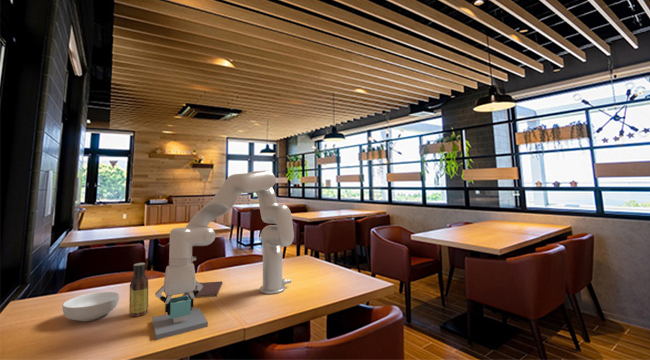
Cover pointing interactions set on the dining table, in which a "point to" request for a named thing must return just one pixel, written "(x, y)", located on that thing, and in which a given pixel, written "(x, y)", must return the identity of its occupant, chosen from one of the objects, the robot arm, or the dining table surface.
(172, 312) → the teal upright block
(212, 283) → the notebook
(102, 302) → the cereal bowl
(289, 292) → the dining table surface
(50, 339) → the dining table surface
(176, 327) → the post base
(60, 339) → the dining table surface
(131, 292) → the sauce bottle
